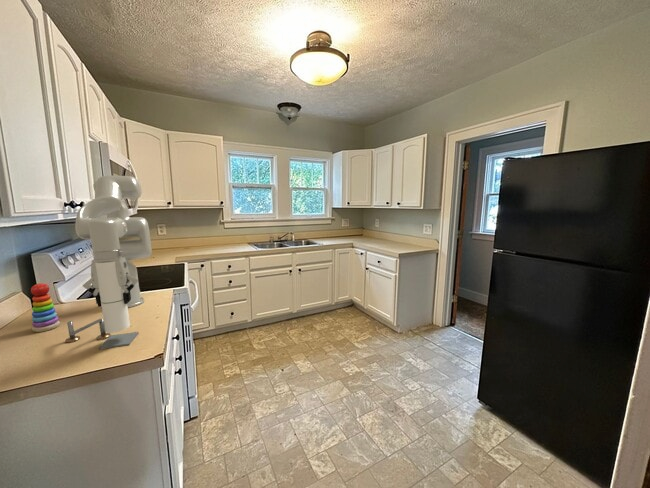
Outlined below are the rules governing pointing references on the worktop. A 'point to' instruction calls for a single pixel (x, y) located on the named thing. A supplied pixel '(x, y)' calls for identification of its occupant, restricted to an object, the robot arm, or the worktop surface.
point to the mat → (119, 340)
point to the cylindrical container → (111, 298)
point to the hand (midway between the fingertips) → (114, 303)
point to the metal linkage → (72, 332)
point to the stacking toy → (43, 309)
